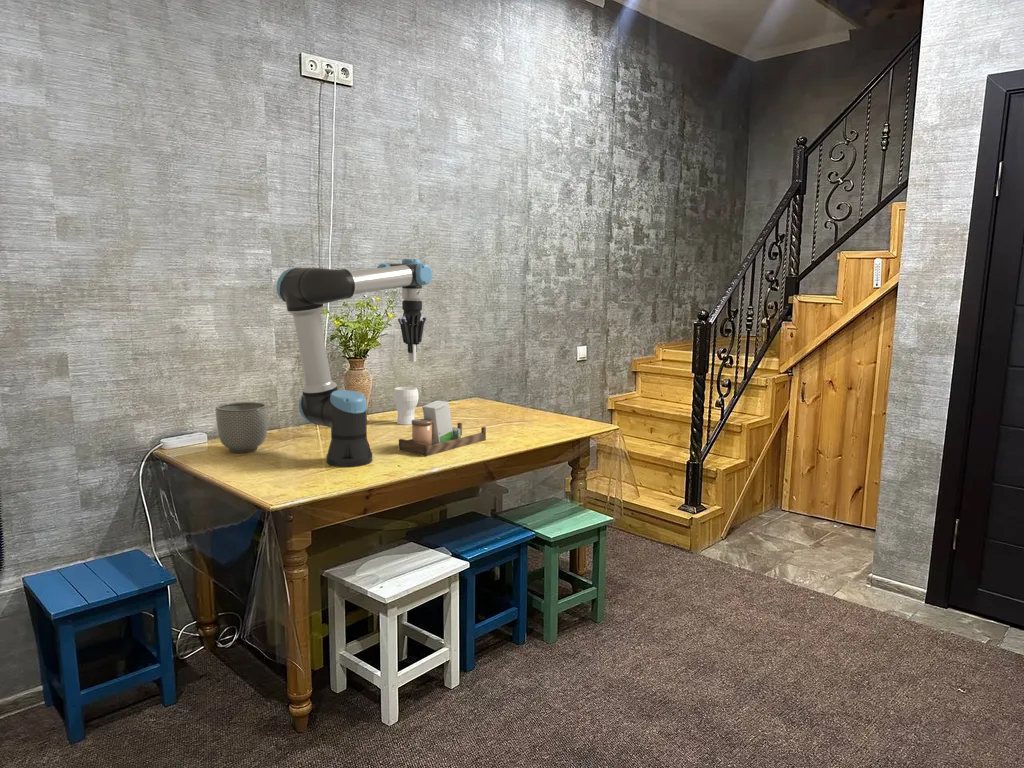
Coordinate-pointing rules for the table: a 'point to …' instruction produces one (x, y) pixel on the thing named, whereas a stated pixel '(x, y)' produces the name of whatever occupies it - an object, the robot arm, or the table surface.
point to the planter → (242, 425)
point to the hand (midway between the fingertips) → (412, 361)
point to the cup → (405, 404)
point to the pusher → (456, 433)
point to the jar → (422, 431)
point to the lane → (441, 447)
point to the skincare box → (439, 421)
